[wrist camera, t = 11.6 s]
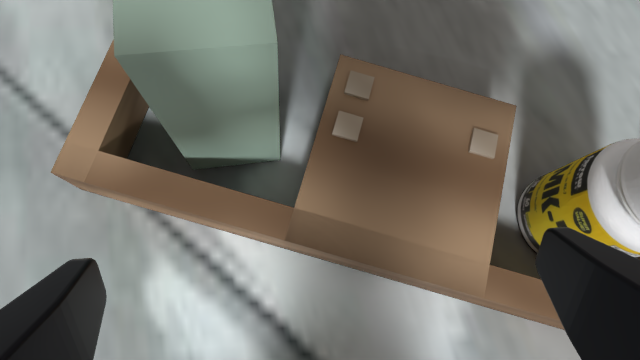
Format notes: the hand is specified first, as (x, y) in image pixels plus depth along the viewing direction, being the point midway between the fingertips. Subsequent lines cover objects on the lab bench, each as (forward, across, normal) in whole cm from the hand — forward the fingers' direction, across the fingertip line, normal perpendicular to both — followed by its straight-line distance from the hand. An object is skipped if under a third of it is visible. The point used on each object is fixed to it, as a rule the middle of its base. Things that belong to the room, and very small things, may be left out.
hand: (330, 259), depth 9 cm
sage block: (+15, +3, +3) cm, 16 cm away
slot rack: (+13, -5, +6) cm, 15 cm away
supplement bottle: (+11, -14, +8) cm, 19 cm away
